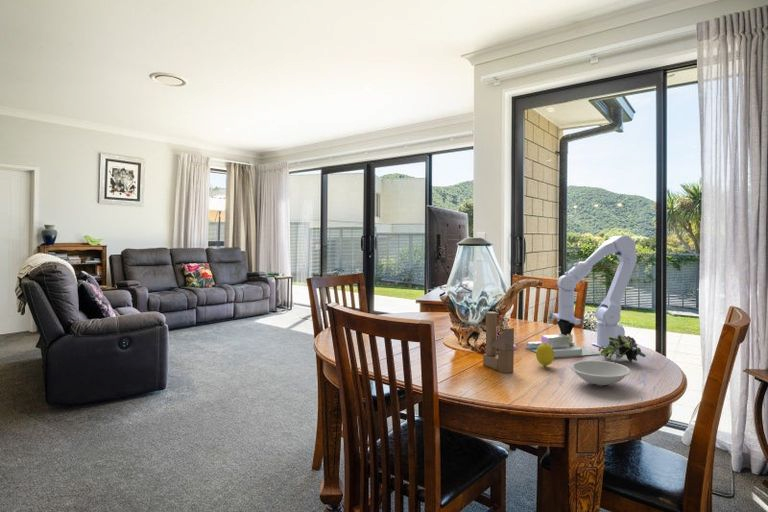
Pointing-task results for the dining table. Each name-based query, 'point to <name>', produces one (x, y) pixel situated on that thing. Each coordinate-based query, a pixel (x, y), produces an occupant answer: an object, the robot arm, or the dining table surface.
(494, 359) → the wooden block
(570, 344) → the block
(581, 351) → the vise base
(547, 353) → the lemon
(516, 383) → the dining table surface
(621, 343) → the green leafy plant
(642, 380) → the dining table surface
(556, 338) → the steel block
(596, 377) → the dish
